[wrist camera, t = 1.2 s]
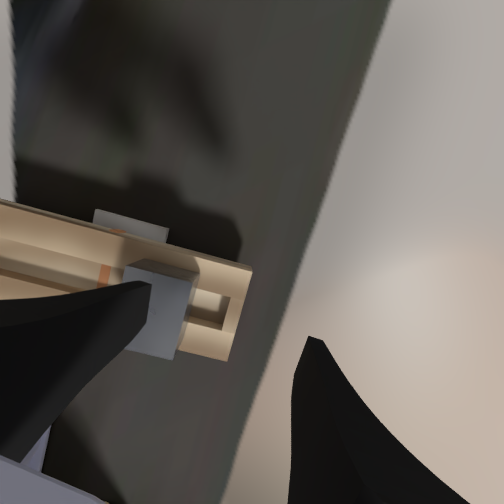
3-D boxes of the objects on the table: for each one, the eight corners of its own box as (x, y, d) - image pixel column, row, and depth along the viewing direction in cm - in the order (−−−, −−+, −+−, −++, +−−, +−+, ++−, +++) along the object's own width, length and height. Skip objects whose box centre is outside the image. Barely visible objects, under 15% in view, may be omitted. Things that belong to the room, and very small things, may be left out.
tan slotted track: (226, 346, 24) (223, 373, 20) (-11, 287, 23) (-70, 303, 19) (253, 251, 23) (256, 258, 19) (8, 184, 22) (-50, 175, 18)
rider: (186, 332, 20) (172, 360, 16) (134, 319, 20) (107, 344, 16) (202, 270, 20) (192, 283, 16) (150, 256, 20) (125, 265, 16)
